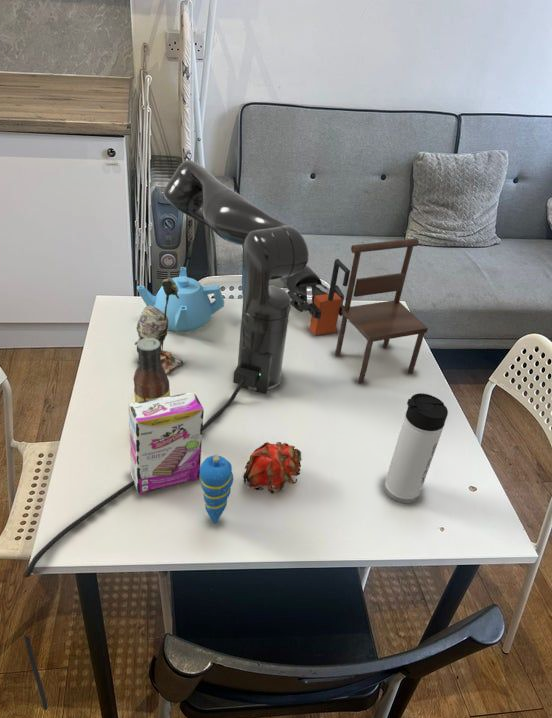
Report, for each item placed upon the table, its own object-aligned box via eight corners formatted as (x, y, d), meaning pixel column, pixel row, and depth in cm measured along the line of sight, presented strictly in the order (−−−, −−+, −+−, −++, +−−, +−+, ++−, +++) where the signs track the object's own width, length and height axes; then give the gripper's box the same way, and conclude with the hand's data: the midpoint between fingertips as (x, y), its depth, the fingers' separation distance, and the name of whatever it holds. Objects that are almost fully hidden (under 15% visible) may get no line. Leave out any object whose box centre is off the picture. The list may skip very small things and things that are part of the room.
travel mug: (378, 477, 114) (403, 389, 102) (413, 477, 115) (443, 390, 102) (386, 503, 109) (414, 415, 97) (423, 503, 110) (456, 415, 98)
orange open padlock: (345, 343, 148) (360, 268, 136) (324, 346, 146) (337, 271, 134) (329, 325, 154) (343, 252, 142) (309, 328, 152) (321, 255, 140)
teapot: (180, 345, 142) (181, 303, 135) (135, 318, 149) (134, 277, 142) (227, 320, 152) (229, 280, 145) (182, 296, 159) (183, 257, 152)
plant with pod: (155, 343, 142) (153, 261, 129) (188, 366, 136) (190, 282, 124) (125, 356, 137) (120, 272, 125) (158, 380, 131) (157, 295, 119)
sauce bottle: (176, 427, 120) (177, 339, 108) (162, 447, 116) (161, 358, 103) (145, 417, 122) (142, 329, 110) (130, 437, 117) (125, 348, 105)
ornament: (225, 537, 101) (230, 470, 92) (193, 530, 101) (196, 463, 92) (232, 513, 105) (238, 447, 96) (202, 507, 106) (205, 440, 96)
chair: (416, 373, 141) (449, 263, 124) (356, 385, 136) (383, 271, 119) (388, 344, 149) (415, 236, 132) (330, 353, 144) (351, 243, 127)
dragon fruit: (302, 477, 115) (247, 508, 110) (279, 435, 116) (223, 465, 111) (320, 469, 107) (262, 503, 103) (296, 425, 108) (237, 456, 103)
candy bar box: (138, 496, 106) (135, 422, 96) (130, 476, 110) (126, 402, 99) (201, 480, 110) (205, 407, 100) (192, 461, 114) (194, 389, 103)
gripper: (323, 289, 163) (355, 323, 151) (271, 296, 158) (301, 332, 146) (327, 262, 158) (361, 296, 146) (274, 269, 153) (305, 303, 141)
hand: (331, 314), depth 146 cm, fingers closed on orange open padlock, 5 cm apart
